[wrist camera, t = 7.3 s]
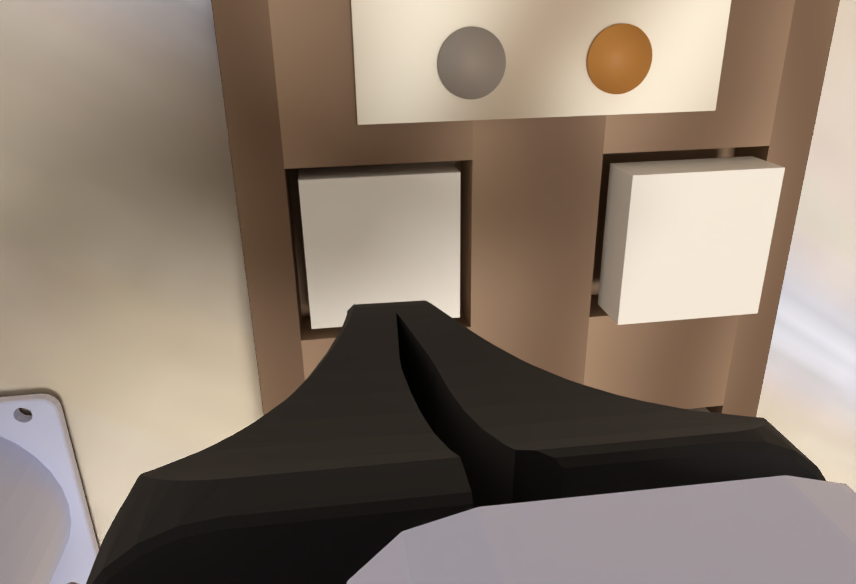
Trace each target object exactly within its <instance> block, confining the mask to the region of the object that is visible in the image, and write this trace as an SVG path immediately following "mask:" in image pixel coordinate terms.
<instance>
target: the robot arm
mask: <svg viewBox="0 0 856 584" xmlns="http://www.w3.org/2000/svg"><path fill="white" fill-rule="evenodd" d="M19 408H26V409H28V410H30V411H31V413H32V415H24V414H23V413H21V412H20V410H19ZM70 582H76V583H78V584H856V493H855V492H854V491H853V490H852V489H851V488H850V487H849V486H847V485H846V484H842V483H835V482H828V481H826V480H825V478H824V476H823V475H822V473H821V472H820V470H819V469H818V467H817V466H816V465H815V464H814V463H813V462H811V461H810V460H809V459H808V458H807V457H806V456H805V455H804V454H803V453H802V452H801V451H799V450H798V449H797V448H796V447H795V446H794V445H793V444H792V443H791V442H790V441H789V440H787V439H786V438H785V437H784V436H783V435H782V434H781V433H780V432H779V431H778V430H777V429H775V428H774V427H773V426H772V425H771V424H770V423H769V422H768V421H767V420H766V419H764V418H758V417H749V416H740V415H732V414H723V413H714V412H705V411H696V410H689V409H682V408H677V407H672V406H667V405H661V404H656V403H651V402H646V401H641V400H637V399H633V398H628V397H624V396H620V395H616V394H613V393H609V392H606V391H603V390H599V389H596V388H593V387H589V386H586V385H583V384H580V383H577V382H574V381H571V380H568V379H565V378H563V377H560V376H558V375H555V374H553V373H551V372H548V371H546V370H543V369H541V368H538V367H536V366H534V365H532V364H529V363H527V362H525V361H523V360H521V359H519V358H517V357H515V356H513V355H512V354H510V353H508V352H506V351H504V350H502V349H501V348H499V347H497V346H495V345H493V344H492V343H490V342H488V341H487V340H485V339H483V338H482V337H480V336H479V335H477V334H475V333H474V332H472V331H471V330H469V329H468V328H466V327H465V326H463V325H462V324H460V323H459V322H457V321H456V320H454V319H453V318H452V317H450V316H449V315H447V314H446V313H444V312H443V311H442V310H440V309H439V308H437V307H436V306H434V305H433V304H431V303H429V302H428V301H426V300H423V301H405V302H388V303H371V304H354V305H353V306H352V307H351V308H350V309H349V310H348V311H347V316H346V319H345V321H344V324H343V326H342V328H341V330H340V332H339V334H338V335H337V337H336V339H335V340H334V342H333V344H332V345H331V347H330V348H329V350H328V352H327V353H326V355H325V356H324V357H323V359H322V360H321V361H320V362H319V364H318V365H317V366H316V368H315V369H314V370H313V372H312V373H311V374H310V375H309V377H308V378H307V379H306V380H305V381H304V382H303V383H302V384H301V385H300V386H299V387H298V388H297V390H296V391H295V392H293V393H292V394H291V395H290V396H289V397H288V398H287V399H286V400H285V401H283V402H282V403H280V404H279V405H278V406H276V407H275V408H274V409H272V410H271V411H269V412H268V413H267V414H265V415H264V416H262V417H261V418H260V419H258V420H257V421H256V422H254V423H253V424H251V425H249V426H248V427H246V428H244V429H243V430H241V431H239V432H237V433H236V434H234V435H232V436H230V437H228V438H226V439H224V440H222V441H221V442H219V443H217V444H215V445H213V446H211V447H209V448H206V449H204V450H202V451H200V452H198V453H195V454H193V455H190V456H188V457H185V458H182V459H180V460H177V461H175V462H172V463H170V464H167V465H165V466H162V467H160V468H157V469H155V470H152V471H149V472H146V473H143V474H141V475H140V476H139V477H138V479H137V480H136V482H135V484H134V486H133V488H132V489H131V491H130V493H129V495H128V497H127V498H126V500H125V502H124V503H123V505H122V506H121V508H120V510H119V511H118V513H117V515H116V517H115V519H114V521H113V522H112V524H111V526H110V528H109V530H108V532H107V534H106V536H105V538H104V540H103V542H102V544H101V547H100V549H99V548H98V545H97V541H96V537H95V533H94V529H93V525H92V521H91V518H90V514H89V510H88V506H87V502H86V498H85V495H84V491H83V487H82V483H81V479H80V475H79V471H78V468H77V464H76V460H75V456H74V452H73V448H72V444H71V441H70V437H69V433H68V429H67V425H66V421H65V418H64V414H63V410H62V406H61V404H60V402H59V401H58V400H57V399H56V398H55V397H54V396H51V395H49V394H30V395H19V396H7V397H0V584H71V583H70Z"/></svg>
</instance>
